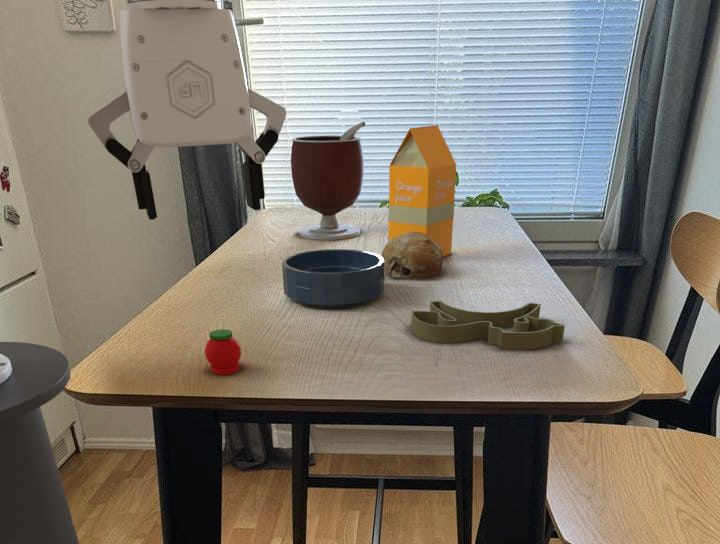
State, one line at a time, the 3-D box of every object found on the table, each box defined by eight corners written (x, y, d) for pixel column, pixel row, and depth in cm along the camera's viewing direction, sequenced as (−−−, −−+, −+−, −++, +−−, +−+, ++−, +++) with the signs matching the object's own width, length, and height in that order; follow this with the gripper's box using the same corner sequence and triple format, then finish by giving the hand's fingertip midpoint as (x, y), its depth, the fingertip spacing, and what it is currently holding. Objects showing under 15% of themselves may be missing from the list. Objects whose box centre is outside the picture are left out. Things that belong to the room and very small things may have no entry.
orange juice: (452, 253, 118) (459, 125, 108) (425, 263, 112) (430, 129, 102) (414, 248, 122) (418, 124, 112) (387, 257, 116) (388, 127, 106)
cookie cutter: (553, 318, 86) (555, 303, 85) (566, 351, 76) (568, 334, 75) (413, 315, 88) (414, 300, 87) (407, 346, 78) (408, 329, 77)
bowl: (300, 316, 88) (298, 277, 86) (273, 288, 100) (271, 254, 97) (399, 303, 93) (399, 267, 90) (362, 279, 104) (362, 245, 101)
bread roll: (376, 297, 108) (370, 255, 101) (393, 256, 113) (387, 214, 107) (437, 302, 105) (434, 260, 99) (450, 260, 110) (448, 217, 104)
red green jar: (210, 378, 71) (205, 340, 68) (204, 365, 74) (199, 329, 71) (246, 372, 72) (242, 336, 70) (238, 360, 75) (235, 325, 73)
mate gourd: (280, 235, 133) (272, 121, 122) (322, 224, 143) (317, 117, 132) (345, 244, 125) (342, 124, 115) (383, 231, 135) (384, 119, 125)
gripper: (58, -16, 49) (110, 228, 58) (286, -15, 54) (302, 210, 63) (61, -5, 55) (107, 214, 64) (265, -5, 60) (282, 199, 69)
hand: (204, 212), depth 64 cm, fingers open, 9 cm apart
